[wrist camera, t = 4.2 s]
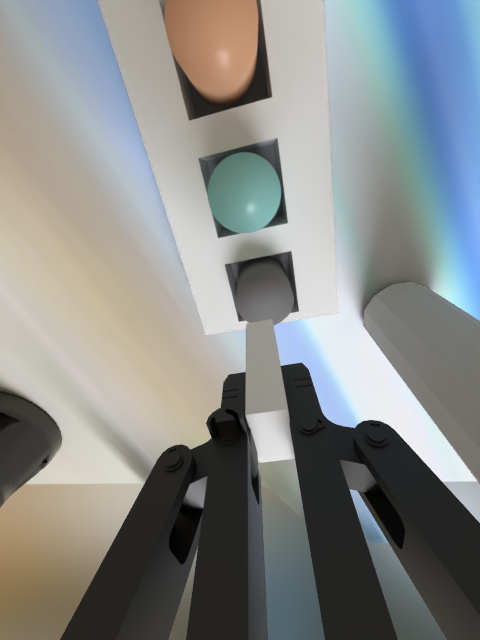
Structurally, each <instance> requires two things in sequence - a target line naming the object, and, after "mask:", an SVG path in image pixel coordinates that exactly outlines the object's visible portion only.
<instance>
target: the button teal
mask: <svg viewBox="0 0 480 640" xmlns="http://www.w3.org/2000/svg"><path fill="white" fill-rule="evenodd" d="M280 199H281V186H280V181H279V178H278V175H277V173H276V171H275V170H274V168H273V167H272V165H271V164H270V163H269V162H268V161H267V160H265V159H264V158H262V157H261V156H259V155H257V154H253V153H248V152H240V153H235V154H233V155H230V156H228V157H226V158H225V159H224V160H222V161H221V162H220V163H219V164H218V165H217V167H216V168H215V169H214V171H213V173H212V175H211V177H210V180H209V184H208V201H209V206H210V209H211V211H212V213H213V215H214V216H215V218H216V219H217V221H218V222H219V223H220V224H221V225H223V226H224V227H225V228H227V229H229V230H231V231H233V232H237V233H251V232H255V231H257V230H260V229H261V228H263V227H264V226H266V225H267V224H268V223H269V222H270V221H271V220H272V218H273V217H274V216H275V214H276V212H277V210H278V207H279V204H280Z"/></svg>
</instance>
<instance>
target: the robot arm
mask: <svg viewBox="0 0 480 640" xmlns="http://www.w3.org/2000/svg"><path fill="white" fill-rule="evenodd" d="M206 424H207V427H208V429H209V432H210V435H211V437H212V438H211V439H210V440H209V441H208V442H206V443H204V444H202V445H200V446H198V447H196V448H193V449H191V450H190V449H189V448H188V447H187V446H185V445H175V446H172V447H170V448H168V449H167V450H166V451H164V452H163V453H162V454H161V456H160V457H159V459H158V460H157V462H156V464H155V466H154V467H153V469H152V471H151V473H150V475H149V477H148V478H147V480H146V482H145V484H144V486H143V488H142V490H141V492H140V493H139V495H138V497H137V499H136V501H135V502H134V504H133V506H132V508H131V510H130V512H129V514H128V516H127V517H126V519H125V521H124V523H123V525H122V527H121V529H120V530H119V532H118V534H117V536H116V538H115V540H114V541H113V543H112V545H111V547H110V549H109V550H108V552H107V554H106V556H105V558H104V560H103V562H102V563H101V565H100V567H99V569H98V571H97V573H96V574H95V576H94V578H93V580H92V582H91V584H90V586H89V588H88V589H87V591H86V593H85V595H84V597H83V598H82V600H81V602H80V604H79V606H78V608H77V610H76V612H75V613H74V615H73V617H72V619H71V621H70V622H69V624H68V626H67V628H66V630H65V632H64V634H63V635H62V637H61V639H60V640H168V639H169V636H170V632H171V629H172V626H173V623H174V620H175V617H176V613H177V610H178V607H179V604H180V601H181V598H182V595H183V591H184V588H185V585H186V582H187V579H188V576H189V573H190V569H191V566H192V563H193V560H194V557H195V554H196V550H197V547H198V552H197V560H196V568H195V576H194V583H193V592H192V598H191V606H190V614H189V621H188V629H187V638H186V640H268V630H267V608H266V586H265V564H264V543H263V522H262V500H261V479H260V474H259V470H258V460H259V463H261V462H270V461H279V460H288V459H295V461H296V467H297V473H298V479H299V485H300V491H301V497H302V503H303V509H304V515H305V521H306V527H307V533H308V539H309V544H310V551H311V557H312V563H313V569H314V575H315V581H316V587H317V593H318V599H319V605H320V610H321V617H322V623H323V629H324V635H325V640H398V639H397V636H396V633H395V630H394V627H393V624H392V620H391V617H390V614H389V611H388V608H387V605H386V602H385V599H384V596H383V593H382V589H381V586H380V584H379V580H378V577H377V574H376V571H375V568H374V565H373V562H372V559H371V555H370V552H369V549H368V546H367V543H366V540H365V537H364V534H363V531H362V527H361V524H360V521H359V518H358V515H357V512H356V509H355V506H354V503H353V500H352V497H351V493H350V490H349V489H353V490H357V491H358V492H359V494H360V496H361V497H362V499H363V501H364V502H365V504H366V506H367V507H368V509H369V511H370V512H371V514H372V516H373V517H374V519H375V521H376V522H377V524H378V526H379V527H380V529H381V531H382V532H383V534H384V536H385V537H386V539H387V541H388V542H389V544H390V545H391V547H392V549H393V550H394V552H395V554H396V555H397V557H398V559H399V560H400V562H401V564H402V565H403V567H404V569H405V570H406V572H407V574H408V575H409V577H410V579H411V580H412V582H413V584H414V585H415V587H416V589H417V590H418V592H419V594H420V595H421V597H422V599H423V600H424V602H425V604H426V605H427V607H428V608H429V610H430V612H431V613H432V615H433V617H434V618H435V620H436V622H437V623H438V625H439V627H440V628H441V630H442V632H443V633H444V635H445V637H446V638H447V640H480V523H479V522H478V521H477V520H476V519H475V518H474V516H473V515H472V514H471V513H470V512H469V511H468V510H467V509H466V508H465V507H464V505H463V504H462V503H461V502H460V501H459V500H458V499H457V498H456V497H455V496H454V494H453V493H452V492H451V491H450V490H449V489H448V488H447V487H446V486H445V485H444V484H443V482H442V481H441V480H440V479H439V478H438V477H437V476H436V475H435V474H434V473H433V471H432V470H431V469H430V468H429V467H428V466H427V465H426V464H425V463H424V462H423V461H422V459H421V458H420V457H419V456H418V455H417V454H416V453H415V452H414V451H413V450H412V449H411V447H410V446H409V445H408V444H407V443H406V442H405V441H404V440H403V439H402V438H401V437H400V435H399V434H398V433H397V432H396V431H395V430H394V429H393V428H391V427H390V426H389V425H387V424H385V423H383V422H380V421H374V420H368V421H363V422H361V423H359V424H358V425H357V426H356V428H351V427H344V426H340V425H336V424H334V423H332V422H331V421H329V420H328V419H327V418H326V417H325V416H324V415H323V413H322V411H321V407H320V404H319V401H318V398H317V395H316V392H315V389H314V386H313V382H312V379H311V376H310V373H309V370H308V368H307V367H306V366H304V365H303V364H302V363H297V364H290V365H284V366H281V365H280V360H279V354H278V348H277V343H276V337H275V332H274V326H273V321H272V319H269V320H264V321H258V322H252V323H247V324H246V372H243V373H237V374H230V375H228V377H227V378H226V380H225V381H224V384H223V393H222V402H221V408H219V409H217V410H216V411H214V412H213V413H212V414H211V415H210V416H209V417H208V420H207V423H206ZM61 442H62V438H61V434H60V431H59V429H58V427H57V426H56V424H55V423H54V422H53V420H52V419H51V418H50V417H49V416H48V415H47V414H46V413H44V412H43V411H42V410H41V409H39V408H38V407H36V406H34V405H33V404H31V403H29V402H27V401H25V400H23V399H21V398H19V397H16V396H13V395H10V394H6V393H2V392H0V507H1V506H2V505H3V503H4V502H5V501H6V500H7V499H8V498H9V497H10V496H11V495H12V494H13V493H14V492H15V491H17V490H18V489H19V488H20V487H21V486H23V485H24V484H25V483H26V482H27V481H29V480H30V479H31V478H32V477H33V476H35V475H36V474H37V473H38V472H39V471H40V470H42V469H43V468H44V467H45V466H46V465H48V463H49V462H50V461H51V460H52V458H53V457H54V456H55V454H56V453H57V451H58V450H59V448H60V446H61Z"/></svg>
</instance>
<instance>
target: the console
mask: <svg viewBox="0 0 480 640" xmlns="http://www.w3.org/2000/svg"><path fill="white" fill-rule="evenodd" d="M256 2H257V7H258V43H257V64H256V72H255V77H254V80H253V83H252V85H251V87H250V89H249V91H248V92H247V93H246V95H245V96H244V97H243V98H242V99H241V100H240V101H238V102H237V103H235V104H233V105H230V106H216V105H213V104H211V103H209V102H207V101H206V100H204V99H203V98H202V97H201V96H200V95H199V93H198V92H197V91H196V89H195V88H194V86H193V84H192V83H191V81H190V80H189V78H188V77H187V75H186V74H185V72H184V71H183V69H182V68H181V66H180V65H179V63H178V61H177V60H176V58H175V56H174V54H173V52H172V50H171V47H170V45H169V41H168V38H167V33H166V26H165V3H166V0H98V3H99V6H100V10H101V13H102V16H103V19H104V22H105V25H106V28H107V31H108V34H109V37H110V40H111V43H112V47H113V50H114V53H115V56H116V59H117V62H118V65H119V68H120V71H121V74H122V77H123V80H124V84H125V87H126V90H127V93H128V96H129V99H130V102H131V105H132V108H133V111H134V114H135V117H136V121H137V124H138V127H139V130H140V133H141V136H142V139H143V142H144V145H145V148H146V151H147V154H148V158H149V161H150V164H151V167H152V170H153V173H154V176H155V179H156V182H157V185H158V188H159V191H160V195H161V198H162V201H163V204H164V207H165V210H166V213H167V216H168V219H169V222H170V225H171V229H172V232H173V235H174V238H175V241H176V244H177V247H178V250H179V253H180V256H181V259H182V262H183V266H184V269H185V272H186V275H187V278H188V281H189V284H190V287H191V290H192V293H193V296H194V299H195V303H196V306H197V309H198V312H199V315H200V318H201V321H202V324H203V327H204V330H205V333H206V335H210V334H216V333H222V332H228V331H234V330H240V329H246V324H247V323H248V322H247V321H246V320H244V319H243V318H242V317H241V315H240V314H239V312H238V310H237V307H236V293H237V285H238V277H239V272H240V269H241V267H242V266H243V264H244V263H245V262H246V261H247V260H249V259H254V258H259V257H264V256H271V257H274V258H275V259H277V260H278V261H279V262H280V263H281V264H282V265H283V267H284V269H285V271H286V274H287V277H288V280H289V283H290V286H291V288H292V291H293V295H294V304H293V308H292V310H291V312H290V314H289V315H288V316H287V317H286V318H285V319H284V320H283V321H281V322H280V323H282V322H288V321H294V320H300V319H306V318H312V317H318V316H324V315H330V314H336V313H338V297H337V275H336V253H335V232H334V210H333V188H332V167H331V145H330V123H329V102H328V80H327V58H326V37H325V15H324V0H256ZM240 152H248V153H253V154H257V155H259V156H261V157H262V158H264V159H265V160H267V161H268V162H269V163H270V164H271V165H272V167H273V168H274V170H275V171H276V173H277V175H278V178H279V181H280V186H281V199H280V204H279V207H278V210H277V212H276V214H275V216H274V217H273V218H272V220H271V221H270V222H269V223H268V224H267V225H266V226H264V227H263V228H261V229H260V230H257V231H255V232H251V233H237V232H233V231H231V230H229V229H227V228H225V227H224V226H223V225H221V224H220V223H219V222H218V221H217V219H216V218H215V216H214V215H213V213H212V211H211V209H210V206H209V201H208V184H209V180H210V177H211V175H212V173H213V171H214V169H215V168H216V167H217V165H218V164H219V163H220V162H221V161H222V160H224V159H225V158H226V157H228V156H230V155H233V154H235V153H240Z"/></svg>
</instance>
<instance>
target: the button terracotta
mask: <svg viewBox="0 0 480 640" xmlns="http://www.w3.org/2000/svg"><path fill="white" fill-rule="evenodd" d="M165 26H166V33H167V38H168V41H169V45H170V47H171V50H172V52H173V54H174V56H175V58H176V60H177V61H178V63H179V65H180V66H181V68H182V69H183V71H184V72H185V74H186V75H187V77H188V78H189V80H190V81H191V83H192V84H193V86H194V88H195V89H196V91H197V92H198V93H199V95H200V96H201V97H202V98H203V99H204V100H206V101H207V102H209V103H211V104H213V105H216V106H230V105H233V104H235V103H237V102H238V101H240V100H241V99H242V98H243V97H244V96H245V95H246V93H247V92H248V91H249V89H250V87H251V85H252V83H253V80H254V77H255V72H256V64H257V43H258V7H257V2H256V0H166V3H165Z"/></svg>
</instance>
